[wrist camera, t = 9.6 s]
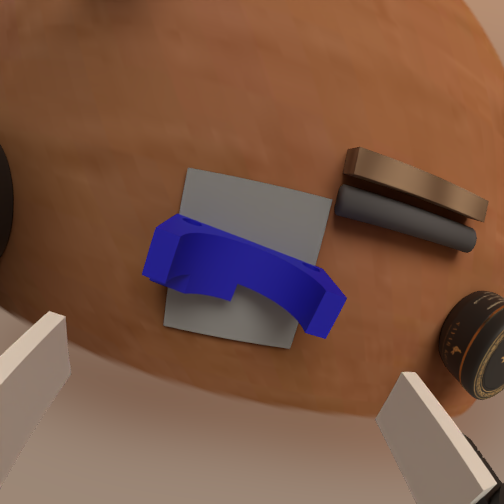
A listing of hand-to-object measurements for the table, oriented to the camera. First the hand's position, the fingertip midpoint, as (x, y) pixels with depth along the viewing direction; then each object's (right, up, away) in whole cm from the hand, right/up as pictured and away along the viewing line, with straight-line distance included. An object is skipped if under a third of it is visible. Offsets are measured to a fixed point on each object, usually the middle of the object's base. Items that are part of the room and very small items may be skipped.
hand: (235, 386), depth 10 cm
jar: (+25, -4, +17) cm, 30 cm away
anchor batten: (+15, +10, +13) cm, 22 cm away
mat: (0, +4, +14) cm, 14 cm away
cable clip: (0, +4, +14) cm, 14 cm away
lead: (+14, +8, +14) cm, 21 cm away
